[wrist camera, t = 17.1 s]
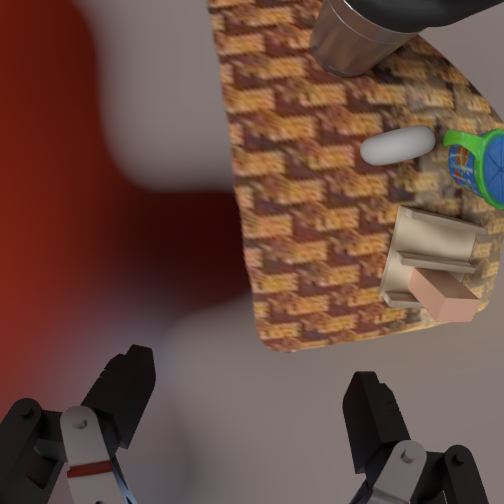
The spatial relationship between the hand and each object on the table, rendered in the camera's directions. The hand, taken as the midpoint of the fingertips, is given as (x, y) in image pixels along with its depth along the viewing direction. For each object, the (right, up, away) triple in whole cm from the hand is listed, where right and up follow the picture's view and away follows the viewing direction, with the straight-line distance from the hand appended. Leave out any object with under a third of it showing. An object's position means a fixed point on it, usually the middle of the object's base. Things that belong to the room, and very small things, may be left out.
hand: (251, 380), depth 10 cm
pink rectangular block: (+28, +1, +29) cm, 40 cm away
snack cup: (+33, +19, +24) cm, 45 cm away
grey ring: (+18, +20, +24) cm, 36 cm away
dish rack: (+28, +4, +29) cm, 41 cm away
